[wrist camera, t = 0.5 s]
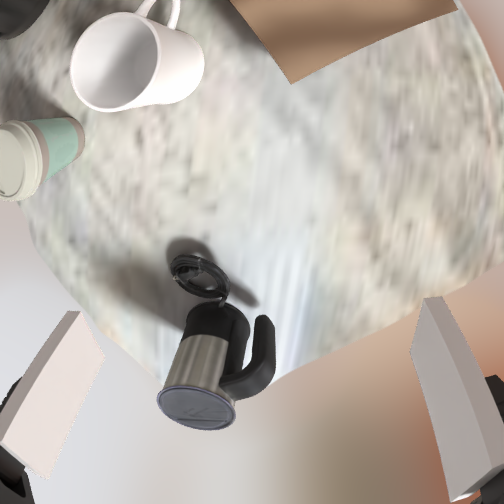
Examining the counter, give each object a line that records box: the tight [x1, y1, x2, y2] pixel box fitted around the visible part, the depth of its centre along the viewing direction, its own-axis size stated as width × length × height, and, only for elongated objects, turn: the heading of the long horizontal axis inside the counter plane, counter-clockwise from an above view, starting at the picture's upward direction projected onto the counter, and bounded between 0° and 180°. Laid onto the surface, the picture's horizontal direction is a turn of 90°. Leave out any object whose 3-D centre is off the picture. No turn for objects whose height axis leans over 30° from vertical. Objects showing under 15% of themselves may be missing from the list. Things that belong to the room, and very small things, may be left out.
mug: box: [70, 0, 204, 112], centre depth 23 cm, size 12×8×12 cm
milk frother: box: [157, 255, 276, 430], centre depth 37 cm, size 14×16×15 cm
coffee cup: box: [0, 117, 85, 201], centre depth 28 cm, size 8×8×12 cm
